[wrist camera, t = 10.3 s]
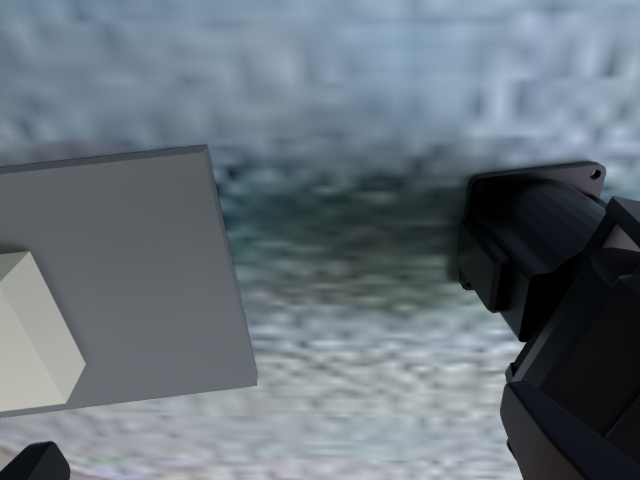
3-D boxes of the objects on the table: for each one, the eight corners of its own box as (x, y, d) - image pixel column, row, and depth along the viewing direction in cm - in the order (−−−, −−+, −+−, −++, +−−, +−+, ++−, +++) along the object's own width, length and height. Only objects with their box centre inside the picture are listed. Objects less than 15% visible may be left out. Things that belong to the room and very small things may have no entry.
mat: (206, 144, 19) (203, 152, 18) (257, 372, 26) (256, 385, 25) (-185, 187, 18) (-208, 196, 17) (-25, 407, 25) (-35, 422, 24)
